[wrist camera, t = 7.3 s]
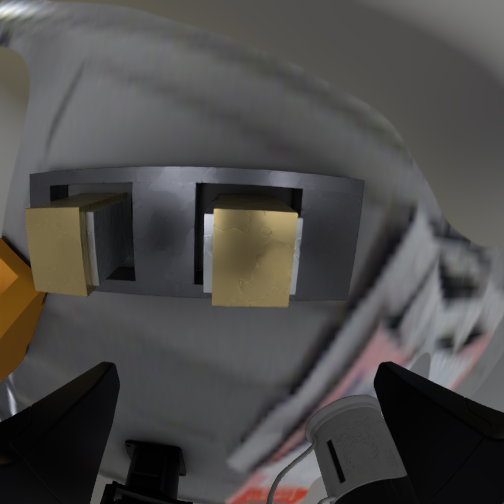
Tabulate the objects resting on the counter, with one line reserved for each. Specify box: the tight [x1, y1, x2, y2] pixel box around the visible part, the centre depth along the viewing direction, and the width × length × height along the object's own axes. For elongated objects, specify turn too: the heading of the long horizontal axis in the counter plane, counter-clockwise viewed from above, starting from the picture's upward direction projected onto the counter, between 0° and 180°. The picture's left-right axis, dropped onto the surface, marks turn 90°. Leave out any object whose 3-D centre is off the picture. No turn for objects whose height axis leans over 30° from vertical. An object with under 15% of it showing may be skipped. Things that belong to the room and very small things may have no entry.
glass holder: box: [267, 395, 418, 504], centre depth 19 cm, size 9×14×15 cm, turn 79°
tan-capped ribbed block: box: [25, 193, 133, 297], centre depth 16 cm, size 4×4×7 cm
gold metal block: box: [204, 194, 303, 307], centre depth 16 cm, size 4×4×7 cm
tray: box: [30, 167, 364, 300], centre depth 18 cm, size 8×22×2 cm, turn 86°
